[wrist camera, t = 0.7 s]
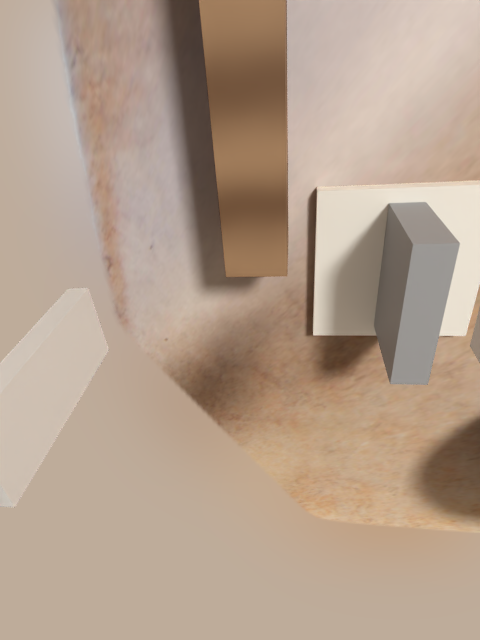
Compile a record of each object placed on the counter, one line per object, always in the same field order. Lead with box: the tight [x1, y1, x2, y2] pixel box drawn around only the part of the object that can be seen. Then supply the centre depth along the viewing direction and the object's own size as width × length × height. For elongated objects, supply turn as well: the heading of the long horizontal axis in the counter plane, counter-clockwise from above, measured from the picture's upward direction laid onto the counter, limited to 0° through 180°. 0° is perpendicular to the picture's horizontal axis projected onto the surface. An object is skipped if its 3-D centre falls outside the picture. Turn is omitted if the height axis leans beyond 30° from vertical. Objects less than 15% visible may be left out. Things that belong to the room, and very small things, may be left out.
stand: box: [313, 180, 480, 385], centre depth 29 cm, size 12×12×8 cm
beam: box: [199, 0, 288, 277], centre depth 24 cm, size 22×4×6 cm, turn 4°
